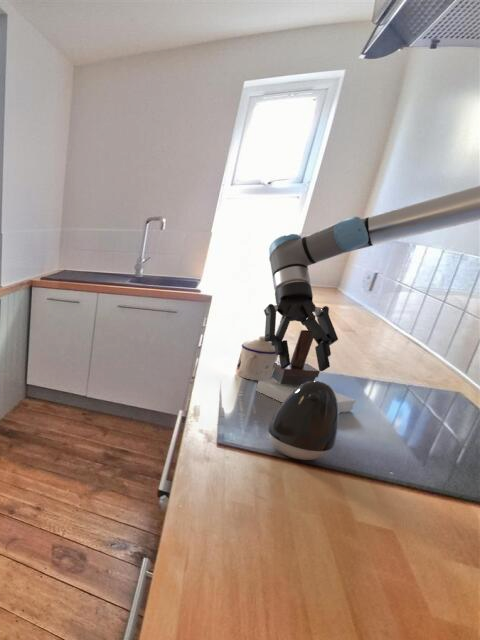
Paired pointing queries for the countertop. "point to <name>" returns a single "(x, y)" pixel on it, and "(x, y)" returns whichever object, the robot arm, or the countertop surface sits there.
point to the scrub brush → (297, 363)
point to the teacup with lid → (256, 360)
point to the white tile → (283, 390)
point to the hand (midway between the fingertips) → (304, 367)
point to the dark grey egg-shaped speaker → (306, 422)
